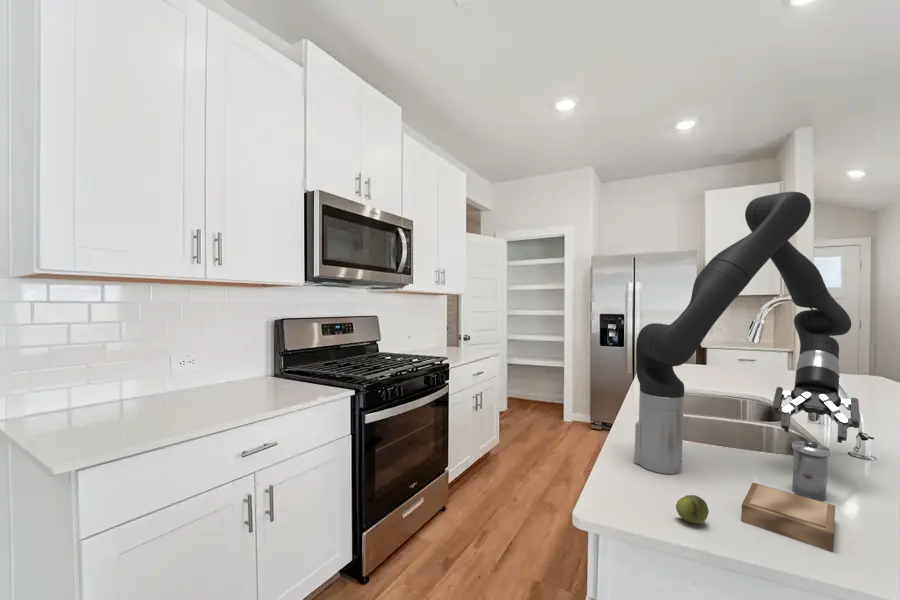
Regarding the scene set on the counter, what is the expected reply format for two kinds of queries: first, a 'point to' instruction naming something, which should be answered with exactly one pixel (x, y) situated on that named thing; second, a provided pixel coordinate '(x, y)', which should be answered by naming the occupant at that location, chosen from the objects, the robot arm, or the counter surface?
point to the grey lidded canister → (810, 469)
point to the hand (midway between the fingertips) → (812, 435)
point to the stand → (790, 515)
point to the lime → (692, 509)
